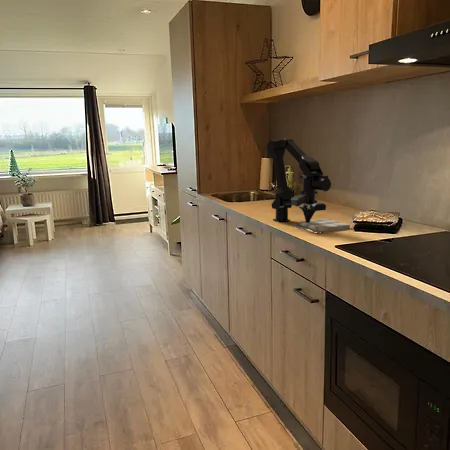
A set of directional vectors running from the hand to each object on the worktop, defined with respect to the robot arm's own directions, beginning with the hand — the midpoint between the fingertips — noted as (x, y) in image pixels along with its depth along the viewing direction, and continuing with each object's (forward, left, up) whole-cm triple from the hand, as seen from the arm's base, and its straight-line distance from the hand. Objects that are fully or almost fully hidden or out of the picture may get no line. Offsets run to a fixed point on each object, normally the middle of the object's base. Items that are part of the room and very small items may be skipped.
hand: (307, 222), depth 191 cm
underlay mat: (+4, +5, -2) cm, 7 cm away
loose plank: (+4, +3, -2) cm, 5 cm away
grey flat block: (+4, +11, -2) cm, 12 cm away
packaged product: (+8, +26, -3) cm, 27 cm away
